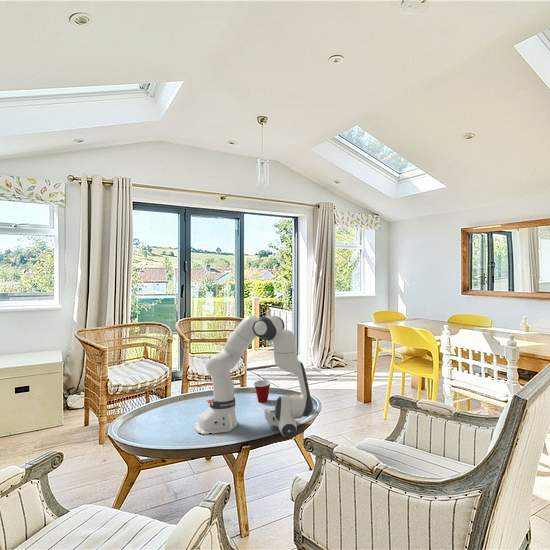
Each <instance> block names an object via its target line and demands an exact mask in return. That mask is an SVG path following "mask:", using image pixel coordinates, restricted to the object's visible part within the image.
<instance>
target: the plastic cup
mask: <svg viewBox="0 0 550 550" xmlns="http://www.w3.org/2000/svg"><path fill="white" fill-rule="evenodd" d="M253 386H254V389H255V393H256V397H257V402H258V403H260V404H263V403H267V402H268V401H269V400H268V398H269V394H270V387H271V381H270V379H269V380H268V379H260V380H256V381H254V382H253Z"/></svg>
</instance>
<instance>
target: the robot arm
mask: <svg viewBox="0 0 550 550" xmlns="http://www.w3.org/2000/svg"><path fill="white" fill-rule="evenodd" d="M255 338H259V339H262V340H265V341H267V342H269V341H270V342H272V344H273V360H274V363H275V365H276V367H277V368H279V369H280V370H282V371H284V372H287V373H290V374H293V375H294V376H296V377H297V379H298V384H299V389H300V394H301V395H298V396H290V395H282V396H279V397H277V399H276V401H275V402H274V408H273V407H269V408H264V409H263V410H264V411H263V414H264V419H265V421H266V422H267V423H268V425H269V426H270V425H271V426H276V427H278V431H279V432H280V434H281V435H282V436H283V437H285V438H292V437H294V436H296V433H297V431H298V428H297V427H298V426H297V422H296V419H298V420H300V419H302V418H305V417H306V418H307V417H309V416H311V414H312V413H313V412H314V402H313V399H312V396H311V393H310V392H311V391H310V387H309V382H308V378H307V373H306V369H305V366H304V364H303V362H302V361H300V360H299V358H298V356H297V345H296V340H295V336H294V333H293V331H291V330H289V329H285V322H284V320H283V319H282V318H281V317H279V316H277V315H265V316H260V317H257V316H255V315H252V314H251V315H246V317H245V318H243V319H242V320H241V321H240V322H239V323H238V325H237V326H236V327H235V328H234V330H233V331H232V332H231V334H230V335H229V337H228V338H227V339H226V343H225V344H224V347H223V348H222V349H221V350H220V351H219V352H217V353H214V354H213V355H212V356H211V357H210V358H208V360H207V361H206V364H205V369H206V371H207V373H208V374H209V375H210V379H211V382H212V393H213V394H212V395H213V396H212V399H211V398H208V399H207V400H206V402H207V403H208V404H209V407H207V408H206V409H205V410H204V411H202V412H201V414H200V415H199V417H198V422H196V423H195V424H194V430H195V432H196V431H197V432H196V433H198V434H199V433H201V434H200V435H202V434H204V435H210V434H209V433H212V434H218V433H220V434H221V433H228V432H231V431H233V429H234V428H236V427H237V426H238V424H239V422H238V420H237V415H236V398H235V383H234V381H233V379H232V377H231V370H232V369H234V368H235V367H236V366H237V364H238V363H239V361H240V360H241V358H242V357H243V354H244V353H245V352H246V350H247V349H248V348H249V346H250V345H251V344H252V343H253V341H254V339H255Z"/></svg>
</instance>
